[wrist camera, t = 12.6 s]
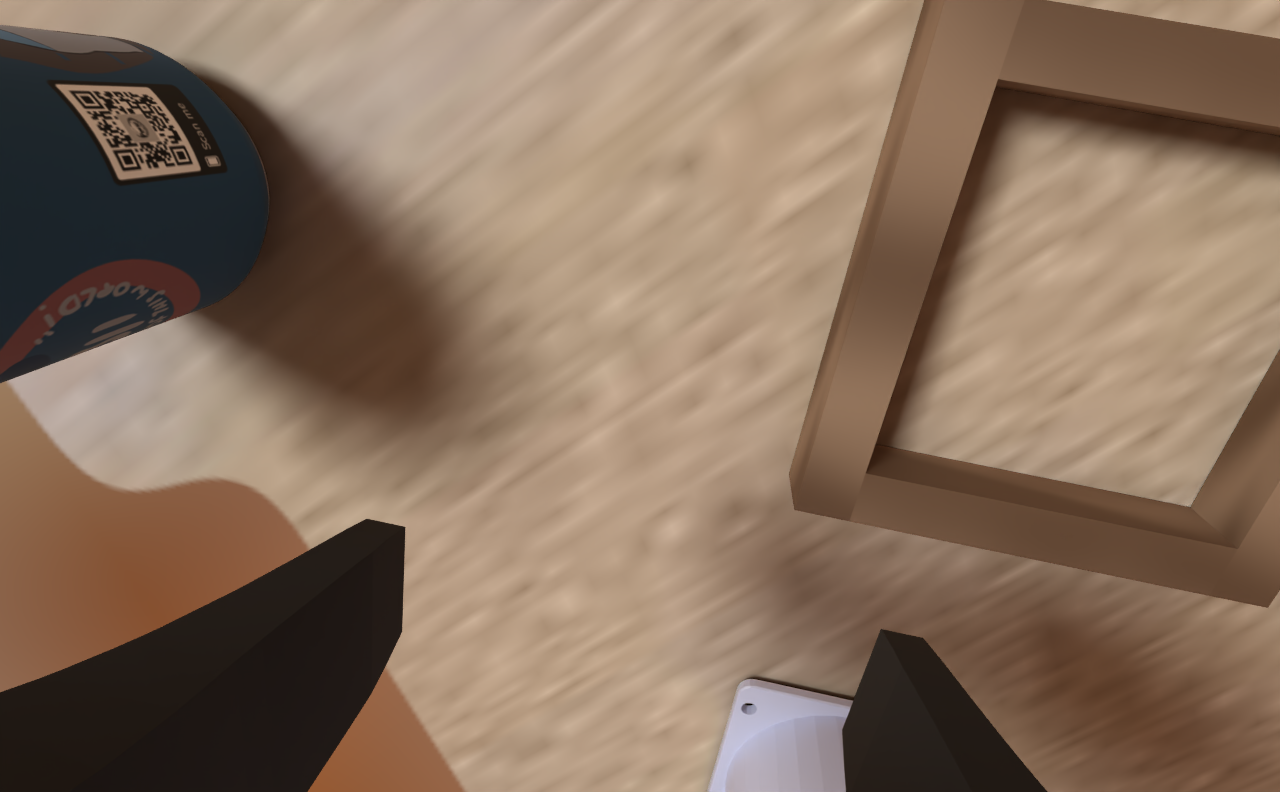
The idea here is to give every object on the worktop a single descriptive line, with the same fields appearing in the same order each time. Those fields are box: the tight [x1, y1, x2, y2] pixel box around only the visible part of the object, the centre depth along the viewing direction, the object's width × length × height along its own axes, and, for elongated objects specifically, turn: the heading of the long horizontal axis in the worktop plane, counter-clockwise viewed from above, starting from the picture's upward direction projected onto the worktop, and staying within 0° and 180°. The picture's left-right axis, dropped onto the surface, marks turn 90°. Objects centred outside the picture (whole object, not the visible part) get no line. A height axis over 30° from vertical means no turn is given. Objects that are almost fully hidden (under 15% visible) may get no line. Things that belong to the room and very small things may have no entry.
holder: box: [789, 0, 1280, 608], centre depth 17 cm, size 12×12×2 cm
